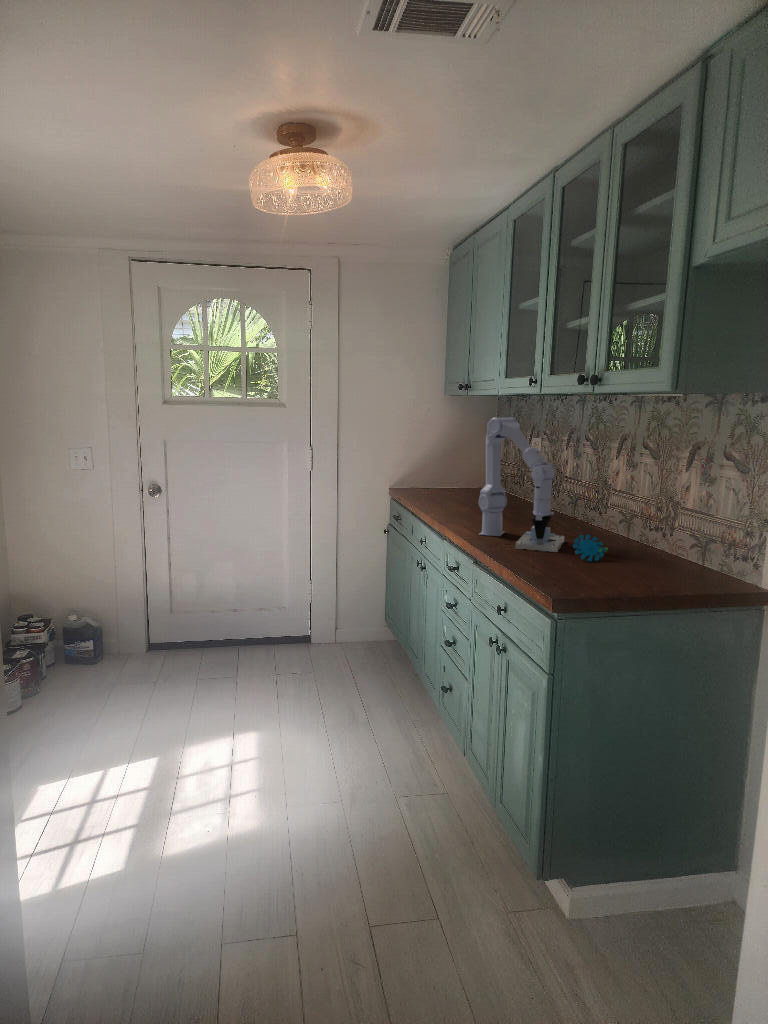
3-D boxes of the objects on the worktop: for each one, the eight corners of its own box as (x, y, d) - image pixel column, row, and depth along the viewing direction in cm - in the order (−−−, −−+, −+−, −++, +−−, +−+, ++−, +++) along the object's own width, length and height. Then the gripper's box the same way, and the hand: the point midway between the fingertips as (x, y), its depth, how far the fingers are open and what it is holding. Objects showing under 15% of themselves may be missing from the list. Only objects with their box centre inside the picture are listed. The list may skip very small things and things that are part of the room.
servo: (526, 539, 241) (527, 524, 241) (555, 541, 238) (556, 526, 237) (524, 541, 238) (525, 526, 237) (554, 543, 234) (554, 528, 233)
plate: (524, 538, 250) (525, 532, 249) (564, 541, 245) (564, 535, 244) (515, 548, 231) (515, 542, 231) (557, 552, 226) (557, 545, 226)
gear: (575, 557, 212) (573, 530, 218) (569, 566, 217) (568, 541, 223) (610, 562, 212) (607, 536, 218) (603, 572, 217) (601, 546, 223)
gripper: (551, 502, 227) (549, 542, 229) (556, 497, 241) (554, 534, 243) (530, 501, 230) (528, 540, 232) (536, 495, 243) (534, 533, 245)
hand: (540, 537), depth 238 cm, fingers closed on servo, 4 cm apart
